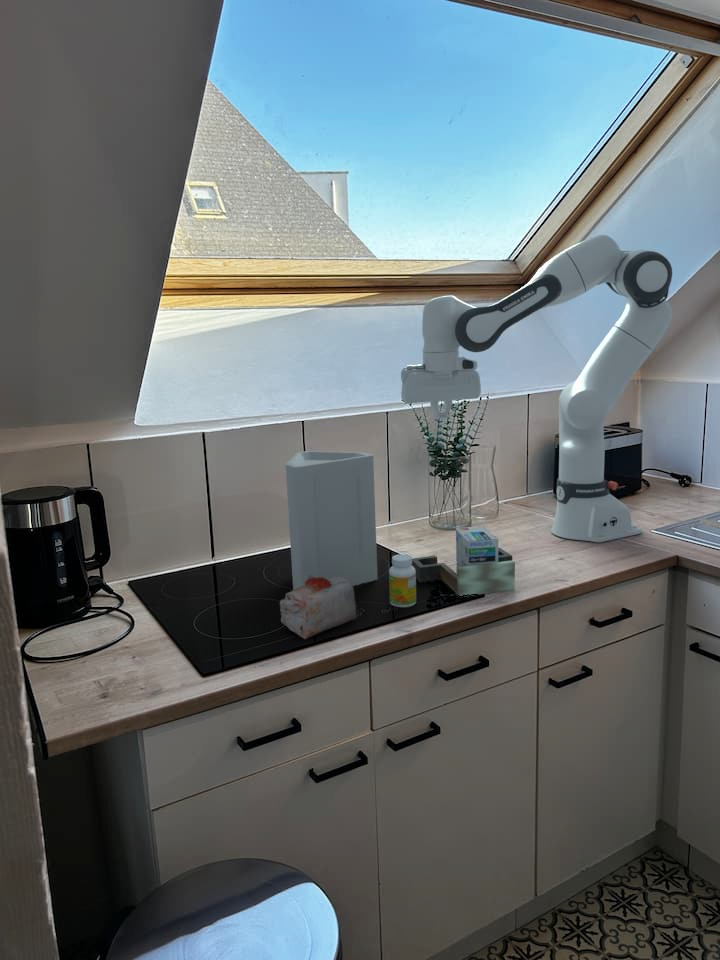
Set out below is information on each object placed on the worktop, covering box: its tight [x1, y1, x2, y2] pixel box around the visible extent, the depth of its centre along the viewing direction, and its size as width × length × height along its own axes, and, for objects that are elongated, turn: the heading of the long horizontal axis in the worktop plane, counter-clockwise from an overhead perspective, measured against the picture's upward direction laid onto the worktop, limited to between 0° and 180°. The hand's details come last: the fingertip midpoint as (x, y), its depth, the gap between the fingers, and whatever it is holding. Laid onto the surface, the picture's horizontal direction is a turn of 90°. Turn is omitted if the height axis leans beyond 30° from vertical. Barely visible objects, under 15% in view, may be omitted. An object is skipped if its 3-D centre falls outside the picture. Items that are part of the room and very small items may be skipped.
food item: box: [279, 575, 358, 640], centre depth 136 cm, size 14×8×10 cm, turn 131°
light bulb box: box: [455, 525, 499, 569], centre depth 156 cm, size 11×7×11 cm, turn 8°
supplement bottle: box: [388, 553, 417, 608], centre depth 145 cm, size 5×5×10 cm
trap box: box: [411, 547, 516, 597], centre depth 157 cm, size 22×17×6 cm
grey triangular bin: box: [285, 450, 379, 590], centre depth 158 cm, size 19×15×28 cm
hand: (441, 418), depth 182 cm, fingers closed
